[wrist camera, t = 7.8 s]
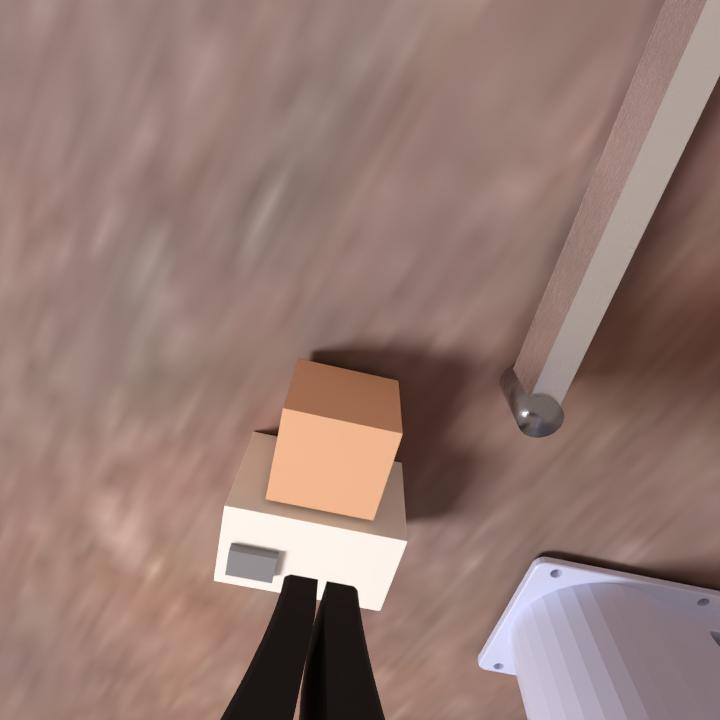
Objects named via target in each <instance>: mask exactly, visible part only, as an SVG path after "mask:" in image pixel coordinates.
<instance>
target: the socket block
mask: <svg viewBox="0 0 720 720" xmlns="http://www.w3.org/2000/svg"><path fill="white" fill-rule="evenodd" d="M276 442H277V436H272V435H268V434H263V433H258V432H253V434H252V436H251V439H250V442H249V444H248V447H247V449H246V452H245V454H244V457H243V459H242V462H241V465H240V467H239V470H238V472H237V475H236V477H235V480H234V482H233V485H232V488H231V490H230V493H229V495H228V498H227V500H226V503H225V505H224V512H223V519H222V526H221V533H220V540H219V547H218V554H217V561H216V568H215V575H214V581H219V582H224V583H230V584H235V585H241V586H246V587H252V588H257V589H262V590H268V591H273V592H279V593H281V589H282V585H283V581H284V577H285V576H288V575H290V574H292V575H297V576H302V577H308V578H313V579H318V586H317V600H321V599H322V595H323V592H324V589H325V585H326V582H327V581H329V582H334V583H340V584H345V585H350V586H354V587H355V588H356V589H357V590H358V598H359V606H360V608H366V609H371V610H377V611H380V610H381V607H382V605H383V602H384V600H385V597H386V595H387V592H388V590H389V587H390V584H391V582H392V579H393V577H394V574H395V572H396V569H397V567H398V564H399V562H400V559H401V557H402V554H403V551H404V549H405V546H406V544H407V528H406V515H405V501H404V488H403V474H402V463H401V462H396V461H393V464H392V467H391V470H390V473H389V476H388V479H387V482H386V485H385V488H384V491H383V494H382V497H381V500H380V503H379V505H378V508H377V511H376V514H375V517H374V520H373V521H372V520H367V519H362V518H357V517H352V516H347V515H342V514H337V513H332V512H327V511H322V510H317V509H312V508H307V507H302V506H297V505H292V504H286V503H281V502H276V501H271V500H266V494H267V489H268V483H269V478H270V473H271V468H272V463H273V458H274V452H275V447H276Z"/></svg>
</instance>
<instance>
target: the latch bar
mask: <svg viewBox="0 0 720 720" xmlns="http://www.w3.org/2000/svg"><path fill="white" fill-rule="evenodd" d="M719 76H720V0H665V2H664V4H663V7H662V9H661V12H660V14H659V16H658V19H657V21H656V24H655V26H654V28H653V31H652V33H651V36H650V38H649V41H648V43H647V45H646V48H645V50H644V53H643V55H642V58H641V60H640V62H639V65H638V67H637V70H636V72H635V74H634V77H633V79H632V82H631V84H630V87H629V89H628V91H627V94H626V96H625V99H624V101H623V104H622V106H621V108H620V111H619V113H618V116H617V118H616V121H615V123H614V125H613V128H612V130H611V133H610V135H609V137H608V140H607V142H606V145H605V147H604V150H603V152H602V154H601V157H600V159H599V162H598V164H597V167H596V169H595V171H594V174H593V176H592V179H591V181H590V184H589V186H588V188H587V191H586V193H585V196H584V198H583V200H582V203H581V205H580V208H579V210H578V213H577V215H576V217H575V220H574V222H573V225H572V227H571V230H570V232H569V234H568V237H567V239H566V242H565V244H564V246H563V249H562V251H561V254H560V256H559V259H558V261H557V263H556V266H555V268H554V271H553V273H552V276H551V278H550V280H549V283H548V285H547V288H546V290H545V293H544V295H543V297H542V300H541V302H540V305H539V307H538V309H537V312H536V314H535V317H534V319H533V322H532V324H531V326H530V329H529V331H528V334H527V336H526V339H525V341H524V343H523V346H522V348H521V351H520V353H519V356H518V358H517V360H516V363H515V365H513V366H511V367H510V368H508V369H507V370H506V371H505V372H504V373H503V375H502V376H501V379H500V387H501V389H502V392H503V394H504V396H505V398H506V400H507V402H508V405H509V407H510V409H511V411H512V413H513V415H514V418H515V420H516V422H517V424H518V426H519V428H520V430H521V431H522V432H523V433H524V434H526V435H528V436H530V437H537V438H539V437H545V436H548V435H550V434H552V433H554V432H555V431H556V430H558V429H559V427H560V426H561V424H562V422H563V419H564V413H563V410H562V408H561V406H560V405H561V403H562V401H563V399H564V397H565V395H566V392H567V390H568V388H569V386H570V384H571V382H572V380H573V378H574V376H575V374H576V372H577V370H578V368H579V366H580V363H581V361H582V359H583V357H584V355H585V353H586V351H587V349H588V347H589V345H590V343H591V341H592V339H593V337H594V335H595V332H596V330H597V328H598V326H599V324H600V322H601V320H602V318H603V316H604V314H605V312H606V310H607V308H608V306H609V303H610V301H611V299H612V297H613V295H614V293H615V291H616V289H617V287H618V285H619V283H620V281H621V279H622V277H623V275H624V272H625V270H626V268H627V266H628V264H629V262H630V260H631V258H632V256H633V254H634V252H635V250H636V248H637V246H638V243H639V241H640V239H641V237H642V235H643V233H644V231H645V229H646V227H647V225H648V223H649V221H650V219H651V217H652V215H653V212H654V210H655V208H656V206H657V204H658V202H659V200H660V198H661V196H662V194H663V192H664V190H665V188H666V186H667V183H668V181H669V179H670V177H671V175H672V173H673V171H674V169H675V167H676V165H677V163H678V161H679V159H680V157H681V155H682V152H683V150H684V148H685V146H686V144H687V142H688V140H689V138H690V136H691V134H692V132H693V130H694V128H695V126H696V123H697V121H698V119H699V117H700V115H701V113H702V111H703V109H704V107H705V105H706V103H707V101H708V99H709V97H710V95H711V92H712V90H713V88H714V86H715V84H716V82H717V80H718V78H719Z"/></svg>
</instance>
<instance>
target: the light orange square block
mask: <svg viewBox="0 0 720 720" xmlns="http://www.w3.org/2000/svg"><path fill="white" fill-rule="evenodd" d="M402 435H403V430H402V418H401V406H400V394H399V382H398V381H397V380H392V379H388V378H383V377H379V376H374V375H370V374H365V373H361V372H357V371H352V370H348V369H343V368H339V367H334V366H330V365H325V364H321V363H316V362H312V361H307V360H303V359H299V360H298V363H297V366H296V369H295V373H294V376H293V379H292V382H291V385H290V388H289V391H288V394H287V397H286V401H285V404H284V407H283V411H282V416H281V421H280V427H279V432H278V437H277V442H276V447H275V452H274V458H273V463H272V468H271V473H270V478H269V483H268V489H267V494H266V500H271V501H276V502H281V503H286V504H292V505H297V506H302V507H307V508H312V509H317V510H322V511H327V512H332V513H337V514H342V515H347V516H352V517H357V518H362V519H367V520H372V521H373V520H374V517H375V514H376V511H377V508H378V505H379V503H380V500H381V497H382V494H383V491H384V488H385V485H386V482H387V479H388V476H389V473H390V470H391V467H392V464H393V461H394V458H395V455H396V452H397V449H398V447H399V444H400V441H401V438H402Z"/></svg>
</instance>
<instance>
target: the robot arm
mask: <svg viewBox="0 0 720 720" xmlns="http://www.w3.org/2000/svg"><path fill="white" fill-rule="evenodd" d="M317 586H318V579H313V578H308V577H302V576H297V575H292V574H290V575H288V576H285V577H284V581H283V585H282V589H281V593H280V596H279V599H278V602H277V605H276V607H275V610H274V613H273V615H272V618H271V620H270V622H269V625H268V627H267V629H266V632H265V634H264V636H263V639H262V641H261V643H260V645H259V647H258V649H257V651H256V653H255V655H254V657H253V659H252V661H251V663H250V666H249V668H248V670H247V672H246V674H245V676H244V678H243V680H242V681H241V683H240V685H239V687H238V689H237V691H236V692H235V694H234V696H233V698H232V700H231V701H230V703H229V705H228V707H227V709H226V711H225V712H224V714H223V716H222V718H221V720H293V717H294V713H295V708H296V703H297V699H298V694H299V689H300V684H301V680H302V675H303V670H304V676H303V683H302V689H301V700H300V714H299V720H385V718H384V714H383V711H382V707H381V703H380V699H379V695H378V691H377V688H376V684H375V680H374V676H373V672H372V668H371V664H370V659H369V655H368V650H367V645H366V640H365V636H364V630H363V625H362V619H361V613H360V606H359V598H358V590H357V589H356V588H355V587H354V586H350V585H345V584H340V583H334V582H329V581H327V582H326V585H325V589H324V592H323V595H322V599H321V602H320V605H319V608H318V612H317V615H316V618H315V610H316V599H317ZM314 618H315V622H314ZM313 623H314V625H313ZM306 656H307V657H306ZM305 661H306V663H305ZM478 662H479V666H480V667H481V668H483V669H485V670H490V671H495V672H501V673H507V674H512V675H517V679H518V683H519V687H520V691H521V695H522V699H523V703H524V707H525V711H526V715H527V719H528V720H720V591H716V590H711V589H706V588H701V587H696V586H691V585H686V584H681V583H676V582H671V581H666V580H661V579H656V578H651V577H646V576H641V575H636V574H630V573H625V572H620V571H615V570H610V569H605V568H600V567H595V566H590V565H585V564H580V563H575V562H570V561H565V560H560V559H555V558H550V557H539V558H537V559H535V560H534V561H533V563H532V564H531V566H530V568H529V569H528V571H527V573H526V575H525V576H524V578H523V580H522V582H521V583H520V585H519V587H518V588H517V590H516V592H515V594H514V595H513V597H512V599H511V601H510V602H509V604H508V606H507V607H506V609H505V611H504V613H503V614H502V616H501V618H500V620H499V621H498V623H497V625H496V626H495V628H494V630H493V632H492V633H491V635H490V637H489V639H488V640H487V642H486V644H485V645H484V647H483V649H482V651H481V652H480V654H479V656H478ZM304 665H305V669H304Z"/></svg>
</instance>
